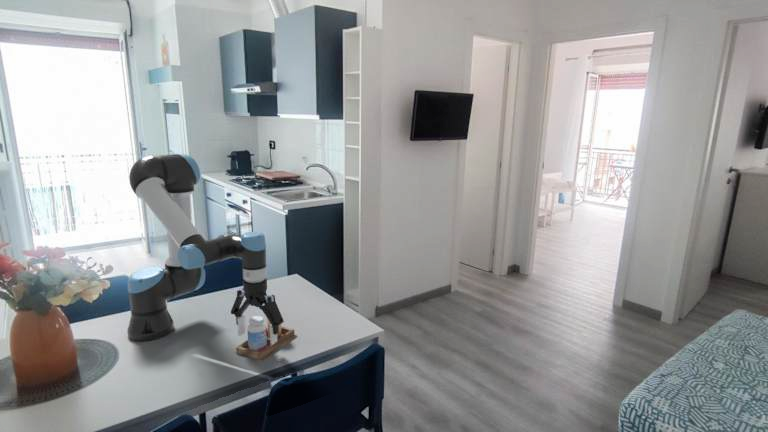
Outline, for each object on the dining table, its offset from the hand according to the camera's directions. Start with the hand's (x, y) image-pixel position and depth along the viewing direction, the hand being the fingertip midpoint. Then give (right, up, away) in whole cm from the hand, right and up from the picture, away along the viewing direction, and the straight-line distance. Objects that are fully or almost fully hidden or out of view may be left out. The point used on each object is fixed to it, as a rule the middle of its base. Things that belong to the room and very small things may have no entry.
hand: (257, 338), depth 147 cm
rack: (+2, -4, +5) cm, 7 cm away
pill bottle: (0, -4, +1) cm, 4 cm away
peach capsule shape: (+4, -2, +9) cm, 10 cm away
